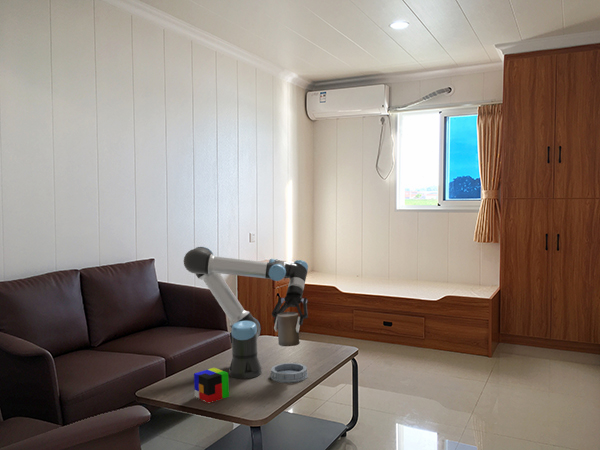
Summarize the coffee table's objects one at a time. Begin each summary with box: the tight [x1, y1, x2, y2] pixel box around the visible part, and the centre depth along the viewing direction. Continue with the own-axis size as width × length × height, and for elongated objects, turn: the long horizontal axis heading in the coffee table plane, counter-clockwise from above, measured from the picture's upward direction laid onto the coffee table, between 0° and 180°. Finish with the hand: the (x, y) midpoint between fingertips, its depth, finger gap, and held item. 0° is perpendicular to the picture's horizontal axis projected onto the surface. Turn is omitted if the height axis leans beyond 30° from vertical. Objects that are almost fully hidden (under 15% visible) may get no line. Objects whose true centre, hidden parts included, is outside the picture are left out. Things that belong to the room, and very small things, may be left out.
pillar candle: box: [277, 311, 301, 347], centre depth 232 cm, size 10×10×15 cm
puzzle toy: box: [193, 367, 230, 403], centre depth 210 cm, size 10×10×10 cm
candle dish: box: [269, 362, 309, 384], centre depth 232 cm, size 17×17×4 cm
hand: (286, 330), depth 229 cm, fingers closed on pillar candle, 9 cm apart
